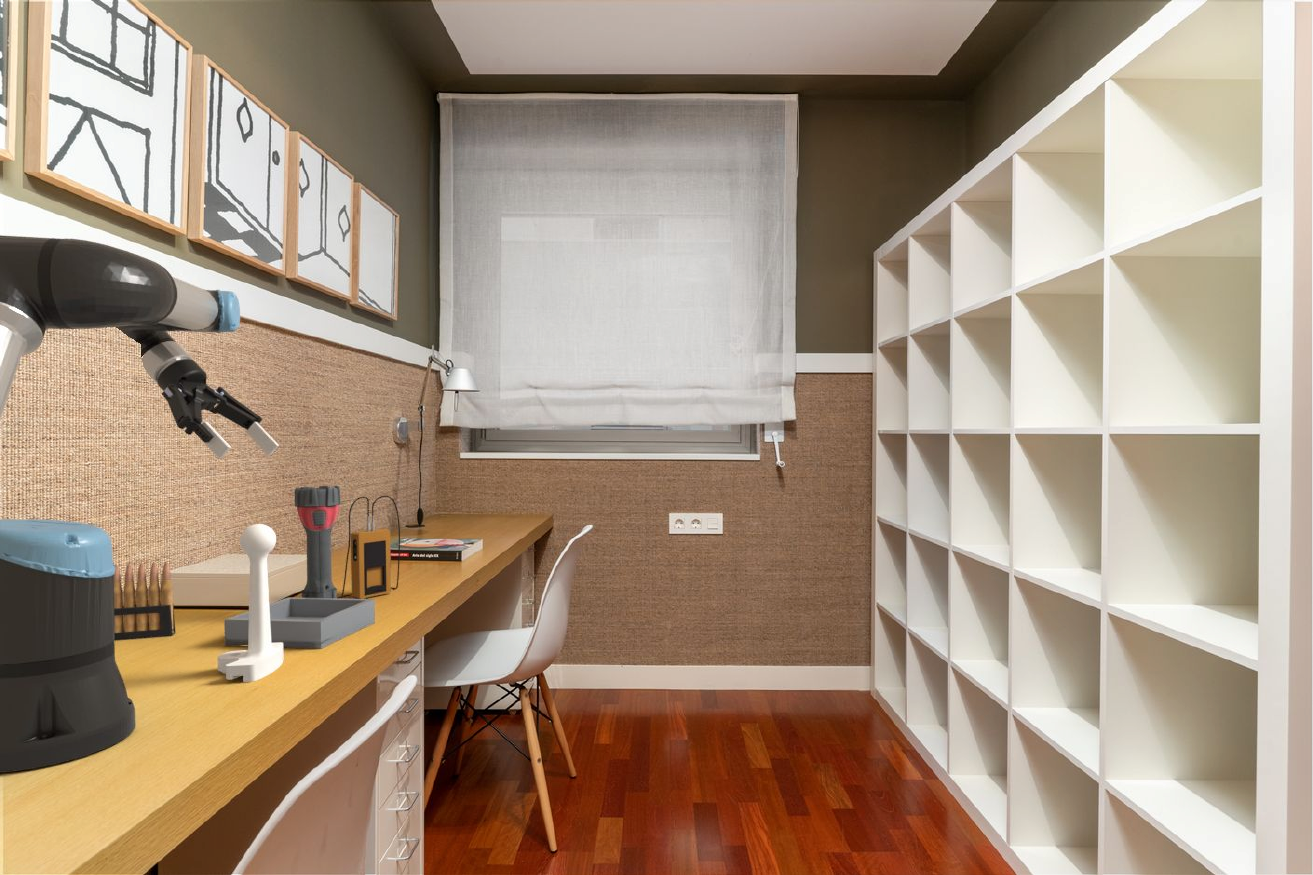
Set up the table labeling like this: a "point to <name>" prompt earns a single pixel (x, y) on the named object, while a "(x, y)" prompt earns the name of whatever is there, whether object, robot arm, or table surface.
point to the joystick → (255, 614)
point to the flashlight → (318, 536)
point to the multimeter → (370, 559)
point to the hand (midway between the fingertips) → (250, 451)
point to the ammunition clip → (143, 604)
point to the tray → (307, 621)
